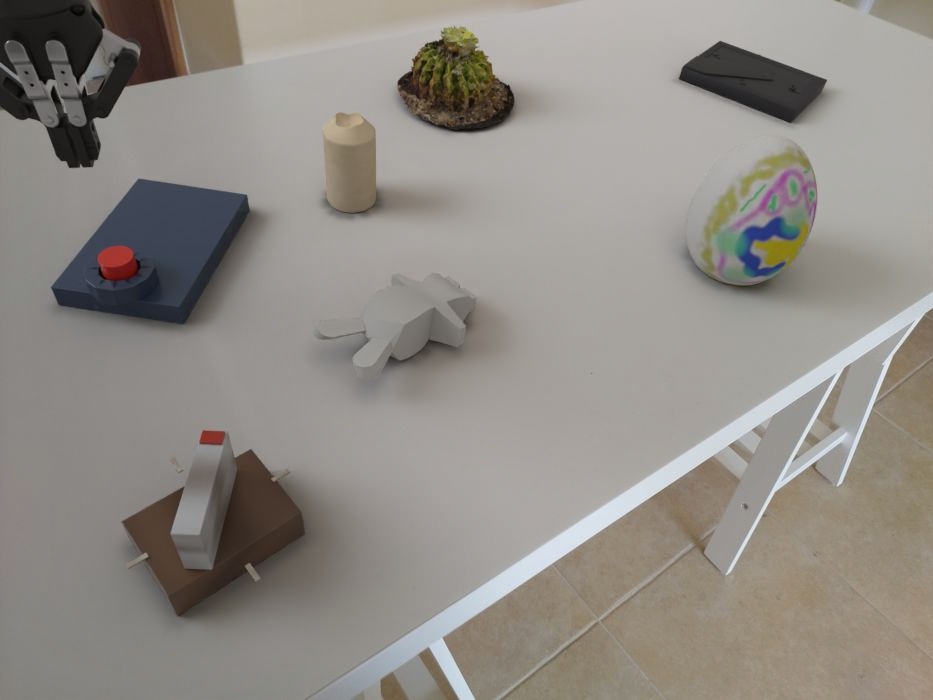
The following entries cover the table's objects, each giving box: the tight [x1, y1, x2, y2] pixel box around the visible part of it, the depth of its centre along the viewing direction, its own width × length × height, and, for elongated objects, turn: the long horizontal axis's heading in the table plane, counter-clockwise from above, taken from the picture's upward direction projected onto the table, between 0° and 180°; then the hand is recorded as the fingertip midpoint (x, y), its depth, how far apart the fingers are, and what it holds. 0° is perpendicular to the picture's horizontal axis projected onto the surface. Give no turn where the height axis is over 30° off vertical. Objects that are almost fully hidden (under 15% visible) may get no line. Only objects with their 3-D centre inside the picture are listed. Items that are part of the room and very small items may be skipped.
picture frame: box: [678, 40, 828, 124], centre depth 111 cm, size 13×2×18 cm
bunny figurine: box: [312, 272, 477, 381], centre depth 67 cm, size 10×5×15 cm
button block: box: [50, 178, 251, 325], centre depth 73 cm, size 19×12×4 cm, turn 172°
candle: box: [322, 112, 377, 214], centre depth 80 cm, size 6×6×10 cm
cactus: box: [396, 25, 515, 131], centre depth 98 cm, size 17×16×10 cm
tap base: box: [121, 448, 306, 617], centre depth 52 cm, size 12×12×3 cm
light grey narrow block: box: [170, 429, 237, 570], centre depth 50 cm, size 8×2×5 cm, turn 0°
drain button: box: [98, 246, 138, 281], centre depth 66 cm, size 3×3×2 cm
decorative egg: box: [684, 134, 818, 287], centre depth 76 cm, size 12×12×15 cm
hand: (83, 162), depth 59 cm, fingers closed
